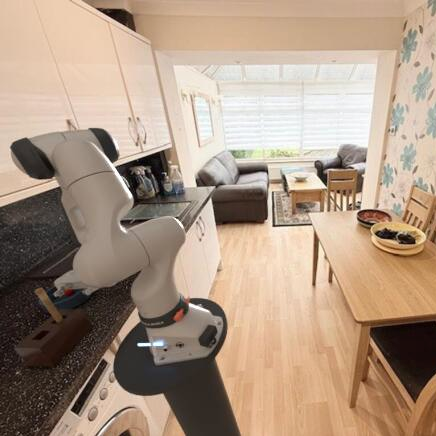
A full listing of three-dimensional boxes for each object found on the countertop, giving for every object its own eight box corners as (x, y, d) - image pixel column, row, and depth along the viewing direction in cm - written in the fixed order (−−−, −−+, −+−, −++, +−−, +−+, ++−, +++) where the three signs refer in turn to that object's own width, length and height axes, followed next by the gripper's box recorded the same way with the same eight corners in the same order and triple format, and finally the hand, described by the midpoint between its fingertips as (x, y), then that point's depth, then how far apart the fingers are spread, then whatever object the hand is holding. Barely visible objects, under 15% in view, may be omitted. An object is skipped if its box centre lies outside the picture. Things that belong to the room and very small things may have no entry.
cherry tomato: (77, 291, 95) (73, 285, 94) (70, 296, 93) (66, 290, 91) (70, 291, 96) (67, 285, 94) (63, 296, 93) (59, 291, 92)
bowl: (104, 286, 99) (99, 276, 96) (72, 315, 85) (65, 305, 83) (71, 286, 100) (65, 277, 98) (34, 315, 86) (26, 305, 84)
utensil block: (93, 326, 80) (82, 309, 76) (54, 366, 68) (39, 348, 64) (71, 326, 80) (59, 309, 77) (29, 366, 68) (13, 347, 65)
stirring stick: (76, 335, 77) (43, 287, 68) (71, 339, 76) (37, 291, 67) (71, 334, 77) (38, 287, 69) (67, 339, 76) (32, 291, 67)
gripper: (70, 263, 88) (34, 289, 76) (124, 259, 88) (96, 285, 75) (78, 276, 91) (45, 303, 79) (130, 273, 90) (104, 300, 78)
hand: (70, 294), depth 77 cm, fingers open, 8 cm apart
